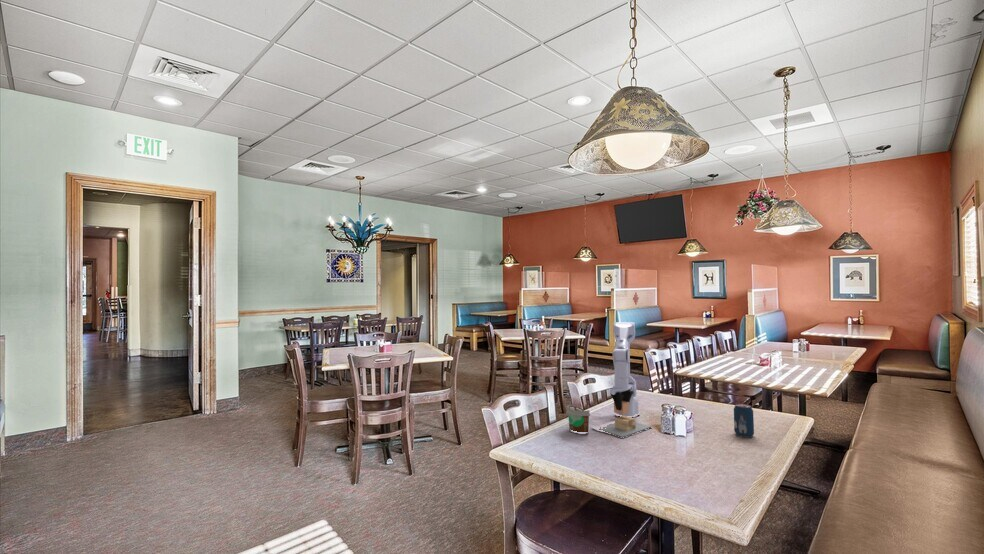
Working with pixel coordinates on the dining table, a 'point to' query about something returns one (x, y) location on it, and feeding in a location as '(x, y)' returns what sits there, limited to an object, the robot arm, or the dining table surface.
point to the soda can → (743, 420)
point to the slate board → (623, 433)
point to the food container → (578, 419)
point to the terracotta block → (622, 408)
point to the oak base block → (625, 423)
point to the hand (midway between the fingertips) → (622, 408)
